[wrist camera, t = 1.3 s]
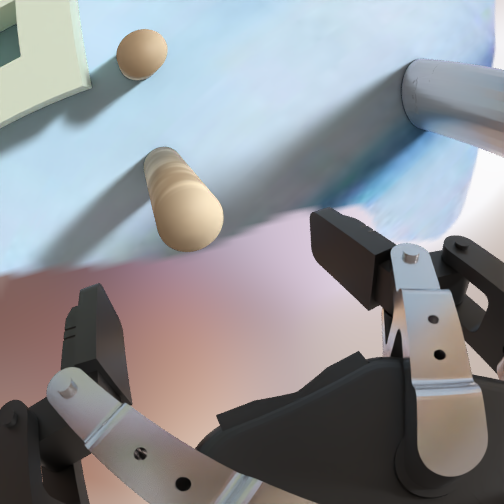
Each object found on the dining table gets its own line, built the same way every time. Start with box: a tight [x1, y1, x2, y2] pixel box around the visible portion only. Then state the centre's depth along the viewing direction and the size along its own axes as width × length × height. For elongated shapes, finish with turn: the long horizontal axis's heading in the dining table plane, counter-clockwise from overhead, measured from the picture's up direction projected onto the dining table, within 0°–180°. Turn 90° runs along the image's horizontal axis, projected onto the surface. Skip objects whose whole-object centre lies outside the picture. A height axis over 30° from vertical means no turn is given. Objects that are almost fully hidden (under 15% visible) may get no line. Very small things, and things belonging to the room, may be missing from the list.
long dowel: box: [144, 147, 223, 252], centre depth 19 cm, size 3×3×12 cm
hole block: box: [0, 0, 92, 129], centre depth 12 cm, size 12×12×5 cm
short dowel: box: [116, 29, 167, 80], centre depth 17 cm, size 3×3×5 cm
